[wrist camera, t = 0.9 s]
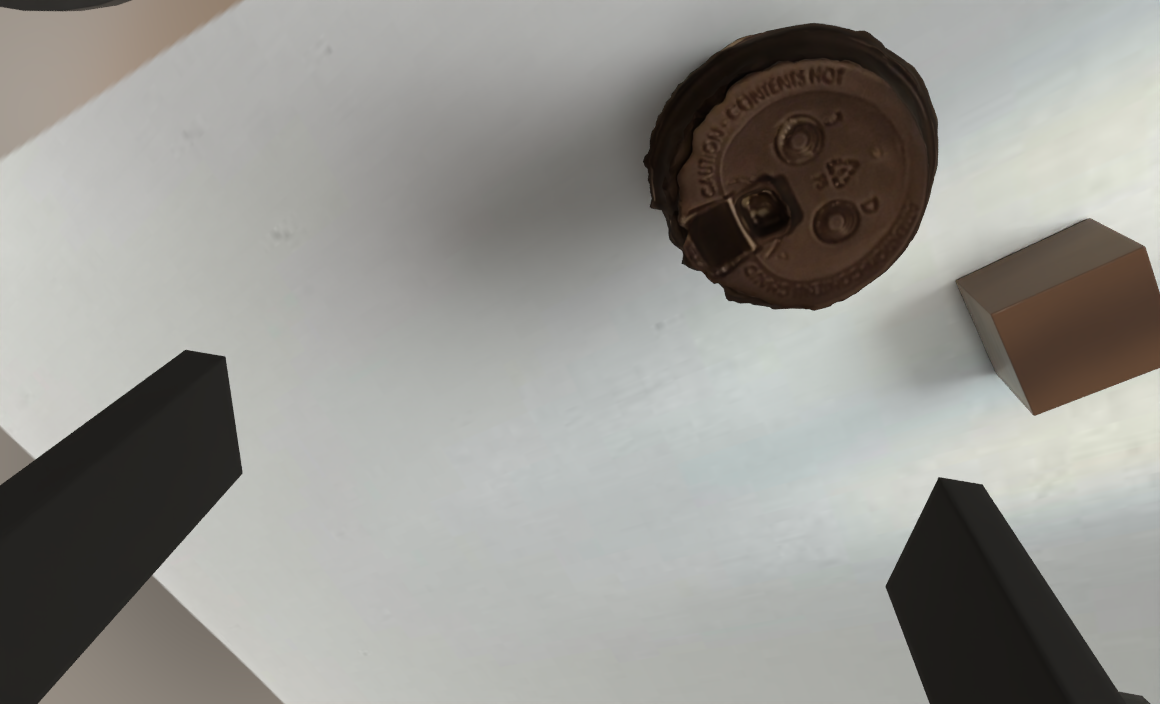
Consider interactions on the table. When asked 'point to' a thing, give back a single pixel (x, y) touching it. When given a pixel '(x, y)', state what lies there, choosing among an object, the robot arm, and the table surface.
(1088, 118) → the table surface
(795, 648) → the table surface
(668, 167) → the coffee cup
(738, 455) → the table surface
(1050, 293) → the brown rectangular block
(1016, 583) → the robot arm
